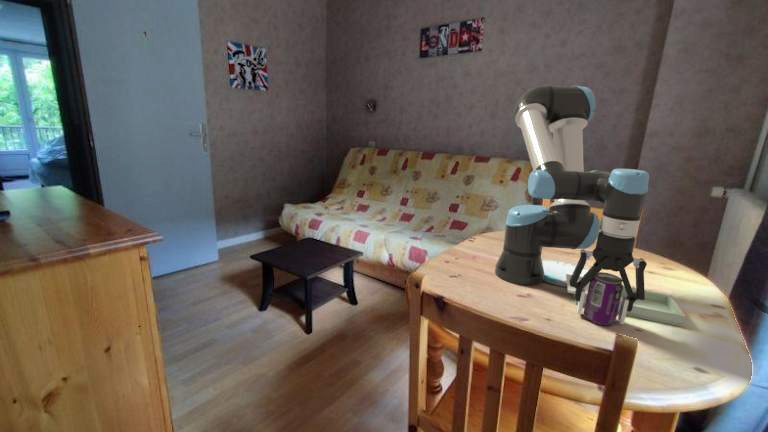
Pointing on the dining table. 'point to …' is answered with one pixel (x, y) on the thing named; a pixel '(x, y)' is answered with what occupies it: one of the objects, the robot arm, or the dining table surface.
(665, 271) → the dining table surface
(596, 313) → the beverage can
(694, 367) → the dining table surface
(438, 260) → the dining table surface
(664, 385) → the dining table surface
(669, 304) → the serving tray
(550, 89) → the robot arm
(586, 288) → the lid
